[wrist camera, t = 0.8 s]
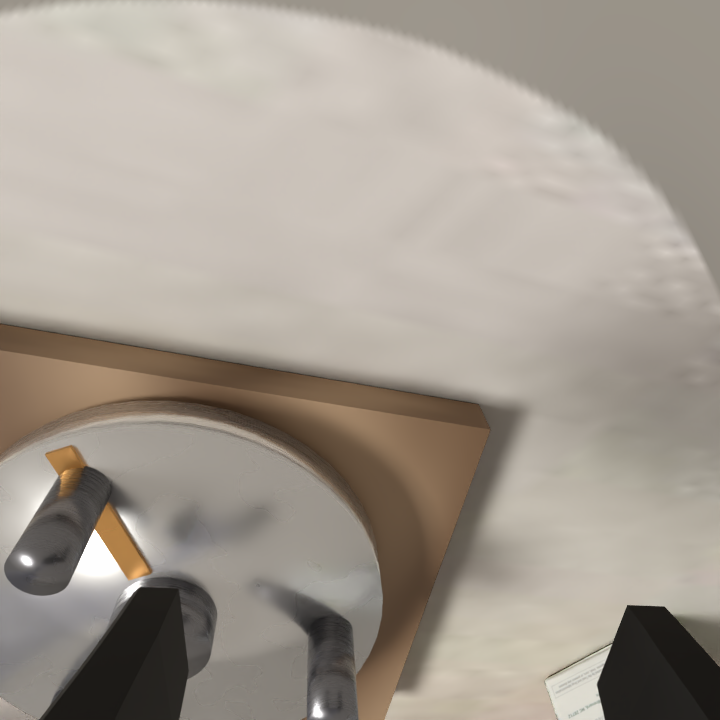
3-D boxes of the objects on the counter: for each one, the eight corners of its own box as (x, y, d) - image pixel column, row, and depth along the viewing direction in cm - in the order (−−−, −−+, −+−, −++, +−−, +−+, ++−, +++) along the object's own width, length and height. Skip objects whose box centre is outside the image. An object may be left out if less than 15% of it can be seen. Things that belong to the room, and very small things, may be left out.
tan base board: (-63, 651, 23) (-94, 699, 21) (-97, 307, 17) (-143, 334, 15) (378, 691, 26) (382, 736, 24) (478, 404, 20) (494, 437, 18)
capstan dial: (-135, 478, 17) (-272, 604, 13) (298, 342, 16) (293, 434, 12) (89, 743, 23) (41, 888, 19) (422, 654, 22) (446, 787, 18)
